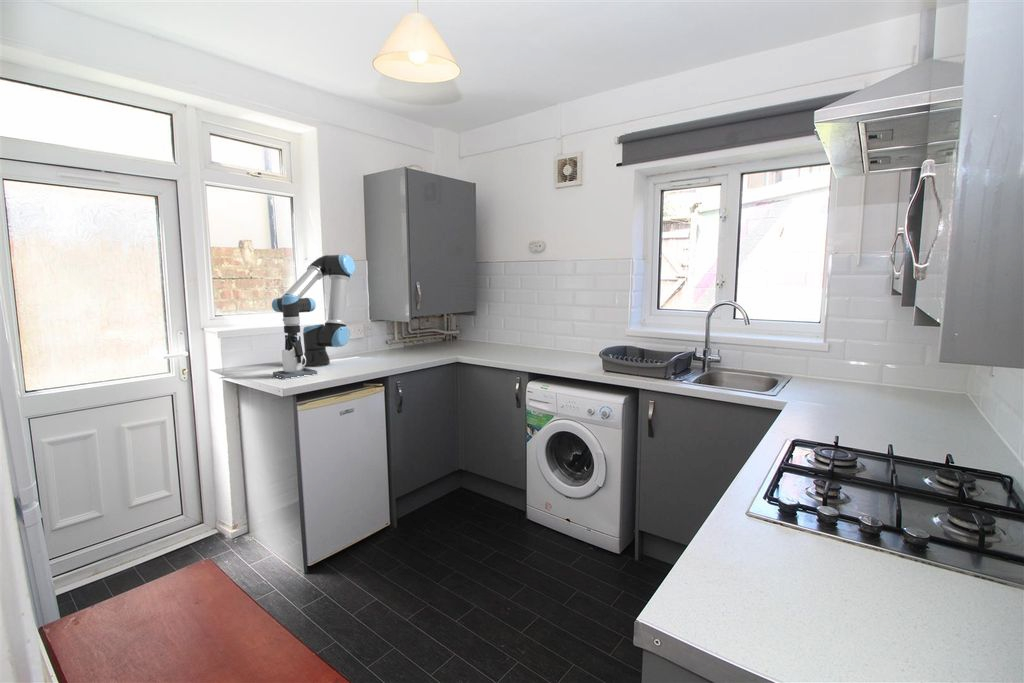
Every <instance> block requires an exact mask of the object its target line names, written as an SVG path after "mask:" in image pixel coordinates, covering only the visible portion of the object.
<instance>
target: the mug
mask: <svg viewBox="0 0 1024 683" xmlns="http://www.w3.org/2000/svg"><path fill="white" fill-rule="evenodd" d="M295 355H296V354H295V351H294V348H293V349H291V350H290V351H288V350H285V349H283V350H281V359H282V369H283V370H282V371H284V372H296V371H300V370H301V369H298V370H296V361H295ZM303 357H304V359H305V364H304V365H302V368H305V365H306V358H305V356H304V354H303V355H302V356H301V358H303Z"/></svg>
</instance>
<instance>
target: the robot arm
mask: <svg viewBox="0 0 1024 683" xmlns="http://www.w3.org/2000/svg"><path fill="white" fill-rule="evenodd" d="M355 270H356V266H355V261H354V260H353V258H352V257H351V255H349V254H327V255H322V256H320V257H318V258H317V259H315V260H314V261H313V262H311V263H310V264H309V265H308V266H307V268H306V271H305V272H303V274H302V275H301V276H300V277H299V278H298V279H297V280H296V281H295V282H294V283H293V285H291V287H290V288H289V289H288V290H287V291H286V292H285V293H284V294H283V295H282V296H281V297H277V298H274V299H273V300H272V302H271V307H272V309H273V311H274V312H276V313H282V321H283V325H284V326H283V333H284V334H285V335H284V341H285V342H284V350H288V351H290V350H291V349H294V351H295V354H296V355H295V361H296V370H298V369H302V365H304V364H305V359H304V357H302V355H304V356H305V358H306V365H305V366H306V367H316V366H315V365H319V366H324V365H325V364H326V365H328V364H331V360H330V357H329V355H328V352H327V349H326V348H329V347H330V348H331V347H332V348H339V347H341V348H342V347H344V346H346V345H347V344H348V342H349V340H350V336H351V335H350V331H349V330H350V329H349V328H348V327H347V324H346V323H345V322H344V321H345V307H346V296H347V284H348V283H347V282H348V281H349V280H350V279H351V278H350V277H351V276H352V275H354V273H355ZM325 276H328V278H329V279H330V280H331V282H330V289H329V290H330V292H329V301H328V302H329V306H328V314H327V320H326V321H325V322H324V323H322V324H320V323H319V324H315V325H308V326H307V325H306V326H304V327H303V328H302V329H303V331H302V332H303V333H302V336H303V346H302V341H301V340H302V338H301V335H298V333H301V326H300V324H301V321H300V313H310V312H313V311H315V309H316V307H317V306H316V301H315V300H314V298H312V297H303V296H304V295H305V294H306V293H307V292H308V291H309V290H310V289H311V288H312V287H313V286H314V284H316V282H317V281H319V280H322V278H324V277H325ZM303 347H304V348H303ZM303 349H304V352H303ZM305 366H304V367H305Z"/></svg>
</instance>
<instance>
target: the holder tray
mask: <svg viewBox="0 0 1024 683" xmlns="http://www.w3.org/2000/svg"><path fill="white" fill-rule="evenodd" d="M312 374H317V375H318V370H316V369H311V368H308V367H303V368H302V369H301V370H300V371H296V372H284V370H278V371H273V372H272V376H273V375H274V376H273V377H275V376H278V377H281V378H280V379H282V378H284V379H283V380H286V379H285V378H290V379H292V378H291V377H297V376H304V375H311V376H313V375H312ZM278 377H277V378H278ZM304 377H305V376H304ZM297 378H298V377H297Z"/></svg>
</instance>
